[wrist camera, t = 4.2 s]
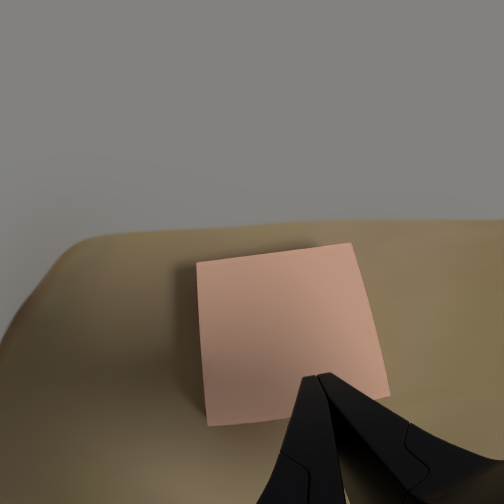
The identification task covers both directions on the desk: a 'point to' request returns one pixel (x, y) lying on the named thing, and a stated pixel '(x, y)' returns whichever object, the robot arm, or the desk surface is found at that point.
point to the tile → (283, 331)
